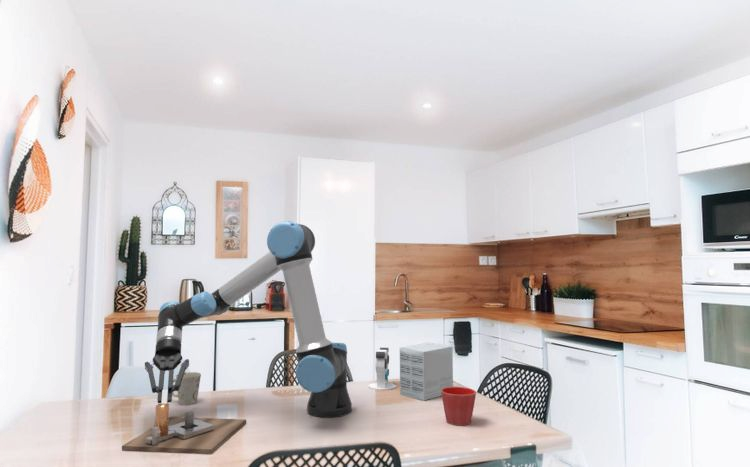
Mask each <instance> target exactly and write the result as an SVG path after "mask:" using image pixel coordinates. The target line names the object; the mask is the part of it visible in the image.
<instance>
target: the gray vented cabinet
mask: <svg viewBox="0 0 750 467" xmlns="http://www.w3.org/2000/svg"><path fill="white" fill-rule="evenodd" d="M453 355H454V354H453V346H452V345H447V344H441V343H434V342H424V343H420V344H413V345H407V346H402V347H399V394H400V395H401V396H405V397H408V398H412V399H416V400H419V401H424V402H425V401H427V400H431V399H434V398H439V397H442V393H441V390H442V389H443V388H447V387H454V378H453V377H454V375H453V374H454V367H453V364H454V361H453V360H454V359H453V358H454V357H453Z"/></svg>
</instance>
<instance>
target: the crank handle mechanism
mask: <svg viewBox="0 0 750 467" xmlns="http://www.w3.org/2000/svg"><path fill="white" fill-rule="evenodd" d="M169 418H170V403H168V404H167V403H163V404H161V403H157V404H156V405H155V419H154V420H155V424H154V427H159V441H162V440H166V439H169V438H172V437H175V436H176V437H179V438H182V439H186V438H189V437H192V436H195V435H198V434H201V433H204V432H207V431H210V430H214V425H213V424H209V423H206V422H203V421H200V420H196V419H194V428H191V429H185V422H181V423H178V424H175V425H171V426H169ZM145 442H146V443H148V444H152V436H150V437H147V438H145Z"/></svg>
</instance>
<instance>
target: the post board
mask: <svg viewBox="0 0 750 467" xmlns="http://www.w3.org/2000/svg"><path fill="white" fill-rule="evenodd" d="M194 415H195V412H194V411H190V410H189V411H186V412H184V417H183V416H182V417H181V416H180V417H179V416H177V417H176V416H175V417H174V416H169V426H171V425H175V424H178V423H181V422H185V429H191V428H194V419H196V420H200V421H203V422H206V423H209V424H213V425H214V430H210V431H207V432H204V433H201V434H198V435H195V436H192V437H189V438H186V439H182V438H179V437H176V436H175V437H172V438H169V439H166V440H162V441H159V427H155V426H153V427H152V428H150V429H148V430H146V431H145V432H143V433H141V434H139V435H137V436H135V437H134V438H133V439H131V440H130V441H127V442H126V443H124V444H123V445H121V451H124V452H125V451H126V452H128V451H129V452H151V453H175V454H176V453H177V454H179V453H180V454H195V455H196V454H200V455H212V454H213V453H214V452H216V451H217V450H218V449H219V448H220V447H221V446H223V445H224V444H225V442H227V441H228V440H230V439H231V437H232V436H234V435H235V434H236V433H237V432H239V431H240V429H242V428H243V427H244V426H245V425H246V424H247V419H244V418H243V419H241V418H239V419H238V418H210V417H195V416H194ZM150 436H152V444H148V443H146V442H145V438H147V437H150Z"/></svg>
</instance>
